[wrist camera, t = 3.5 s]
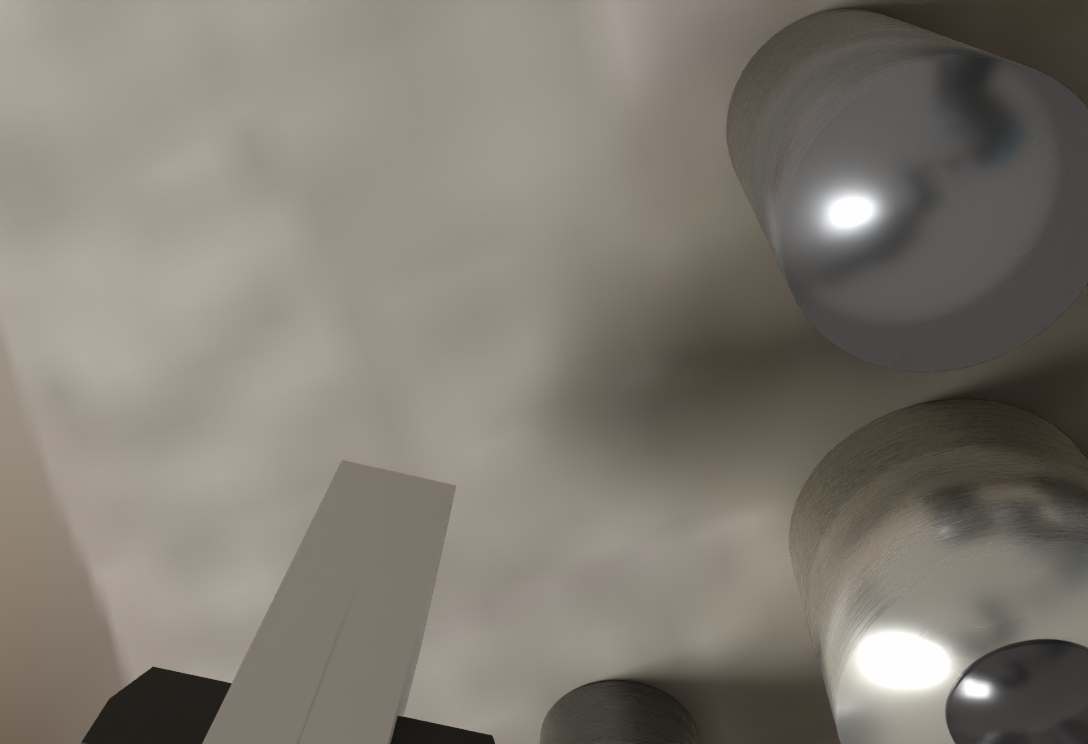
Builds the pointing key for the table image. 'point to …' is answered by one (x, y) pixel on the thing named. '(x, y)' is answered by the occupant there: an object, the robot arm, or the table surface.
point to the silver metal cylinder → (949, 578)
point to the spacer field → (892, 226)
